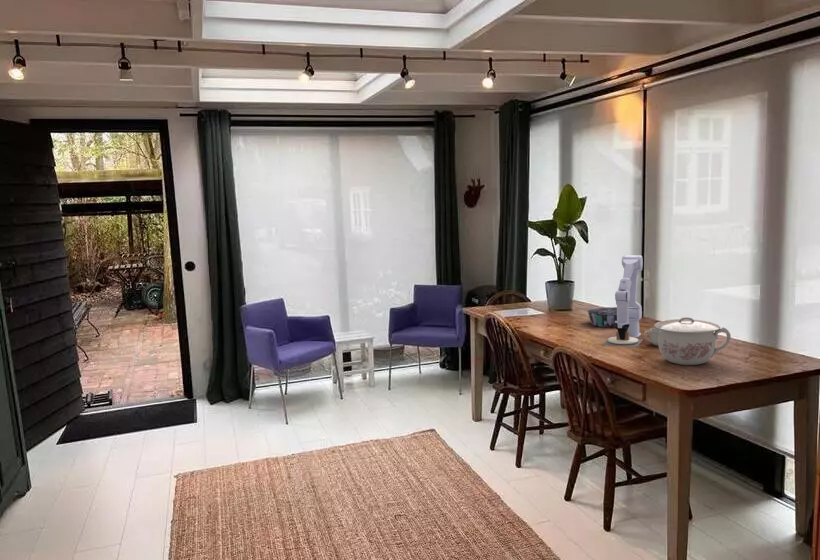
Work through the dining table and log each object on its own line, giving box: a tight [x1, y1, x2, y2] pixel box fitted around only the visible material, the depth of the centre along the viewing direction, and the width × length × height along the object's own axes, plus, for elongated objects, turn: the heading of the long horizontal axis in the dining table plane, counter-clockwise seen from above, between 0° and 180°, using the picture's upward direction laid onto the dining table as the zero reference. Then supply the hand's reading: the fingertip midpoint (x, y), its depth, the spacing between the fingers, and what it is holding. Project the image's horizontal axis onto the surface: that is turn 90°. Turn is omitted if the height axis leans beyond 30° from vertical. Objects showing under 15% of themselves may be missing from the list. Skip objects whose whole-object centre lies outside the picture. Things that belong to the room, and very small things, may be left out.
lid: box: [607, 330, 639, 344], centre depth 316 cm, size 15×15×5 cm
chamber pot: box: [653, 316, 732, 366], centre depth 274 cm, size 28×28×21 cm
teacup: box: [642, 327, 660, 347], centre depth 307 cm, size 14×11×8 cm
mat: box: [602, 338, 644, 348], centre depth 317 cm, size 18×17×1 cm
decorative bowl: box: [586, 306, 618, 328], centre depth 363 cm, size 26×28×10 cm
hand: (622, 338), depth 317 cm, fingers closed on lid, 2 cm apart
